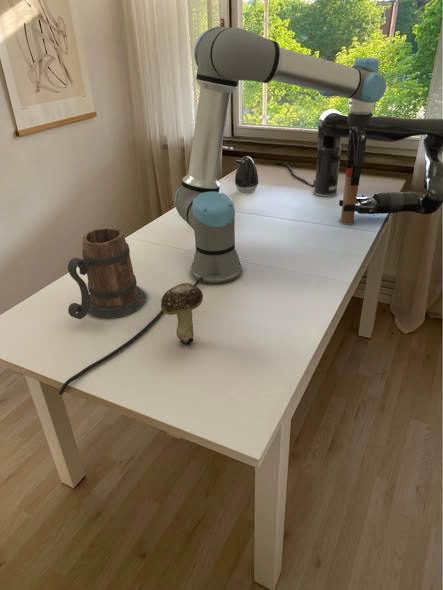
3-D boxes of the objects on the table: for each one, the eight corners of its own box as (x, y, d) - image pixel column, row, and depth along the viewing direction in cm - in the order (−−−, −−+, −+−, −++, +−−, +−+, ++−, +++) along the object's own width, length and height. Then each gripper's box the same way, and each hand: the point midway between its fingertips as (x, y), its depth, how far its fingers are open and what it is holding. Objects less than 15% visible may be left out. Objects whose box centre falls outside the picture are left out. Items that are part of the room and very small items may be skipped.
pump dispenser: (230, 190, 197) (229, 155, 189) (251, 186, 201) (251, 151, 193) (241, 196, 189) (240, 161, 181) (262, 192, 193) (263, 157, 185)
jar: (340, 223, 163) (346, 173, 153) (340, 219, 166) (346, 169, 156) (353, 224, 162) (360, 174, 151) (353, 219, 165) (359, 170, 155)
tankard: (113, 279, 133) (101, 217, 123) (158, 293, 126) (149, 228, 115) (52, 320, 116) (32, 252, 106) (99, 339, 109) (83, 267, 98)
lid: (361, 177, 152) (362, 171, 151) (347, 177, 152) (347, 172, 152) (357, 172, 157) (358, 167, 156) (344, 173, 157) (344, 168, 156)
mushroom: (205, 329, 111) (202, 278, 102) (206, 352, 103) (202, 298, 95) (168, 331, 110) (161, 279, 102) (165, 354, 103) (158, 300, 95)
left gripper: (342, 106, 152) (335, 173, 164) (356, 118, 135) (347, 191, 147) (364, 106, 152) (356, 172, 164) (381, 117, 135) (370, 190, 147)
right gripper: (393, 220, 157) (346, 223, 156) (379, 205, 169) (334, 208, 168) (397, 199, 153) (348, 202, 152) (382, 186, 165) (336, 188, 164)
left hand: (351, 181), depth 156 cm, fingers open, 7 cm apart
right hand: (341, 205), depth 160 cm, fingers closed on jar, 4 cm apart
